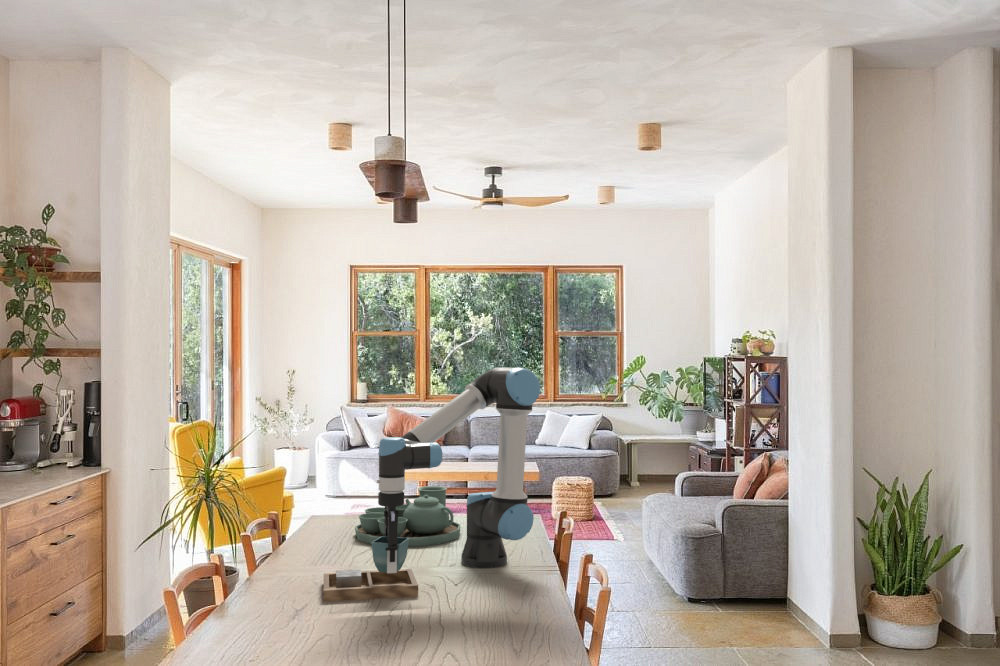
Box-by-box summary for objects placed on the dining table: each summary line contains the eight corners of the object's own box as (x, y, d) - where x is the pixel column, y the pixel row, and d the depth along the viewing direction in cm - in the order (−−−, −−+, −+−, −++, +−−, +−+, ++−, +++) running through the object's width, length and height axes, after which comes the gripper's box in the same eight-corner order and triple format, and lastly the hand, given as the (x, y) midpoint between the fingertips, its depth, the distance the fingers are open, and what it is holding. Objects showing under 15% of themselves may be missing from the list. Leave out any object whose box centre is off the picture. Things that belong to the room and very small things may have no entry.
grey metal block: (360, 586, 241) (360, 569, 241) (361, 593, 235) (361, 575, 235) (335, 588, 240) (336, 570, 240) (336, 594, 233) (336, 577, 233)
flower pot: (409, 568, 243) (409, 537, 243) (399, 575, 234) (400, 544, 235) (380, 566, 245) (381, 535, 245) (370, 574, 236) (370, 542, 236)
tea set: (371, 523, 336) (371, 483, 336) (468, 527, 331) (468, 485, 331) (340, 546, 297) (340, 500, 297) (450, 550, 291) (450, 503, 292)
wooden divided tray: (411, 582, 250) (411, 568, 250) (418, 599, 232) (418, 585, 232) (323, 586, 245) (323, 573, 245) (323, 605, 227) (323, 590, 227)
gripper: (375, 485, 251) (374, 558, 250) (381, 498, 228) (379, 579, 228) (400, 484, 252) (399, 557, 252) (408, 497, 230) (407, 577, 229)
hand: (390, 567), depth 240 cm, fingers closed on flower pot, 10 cm apart
